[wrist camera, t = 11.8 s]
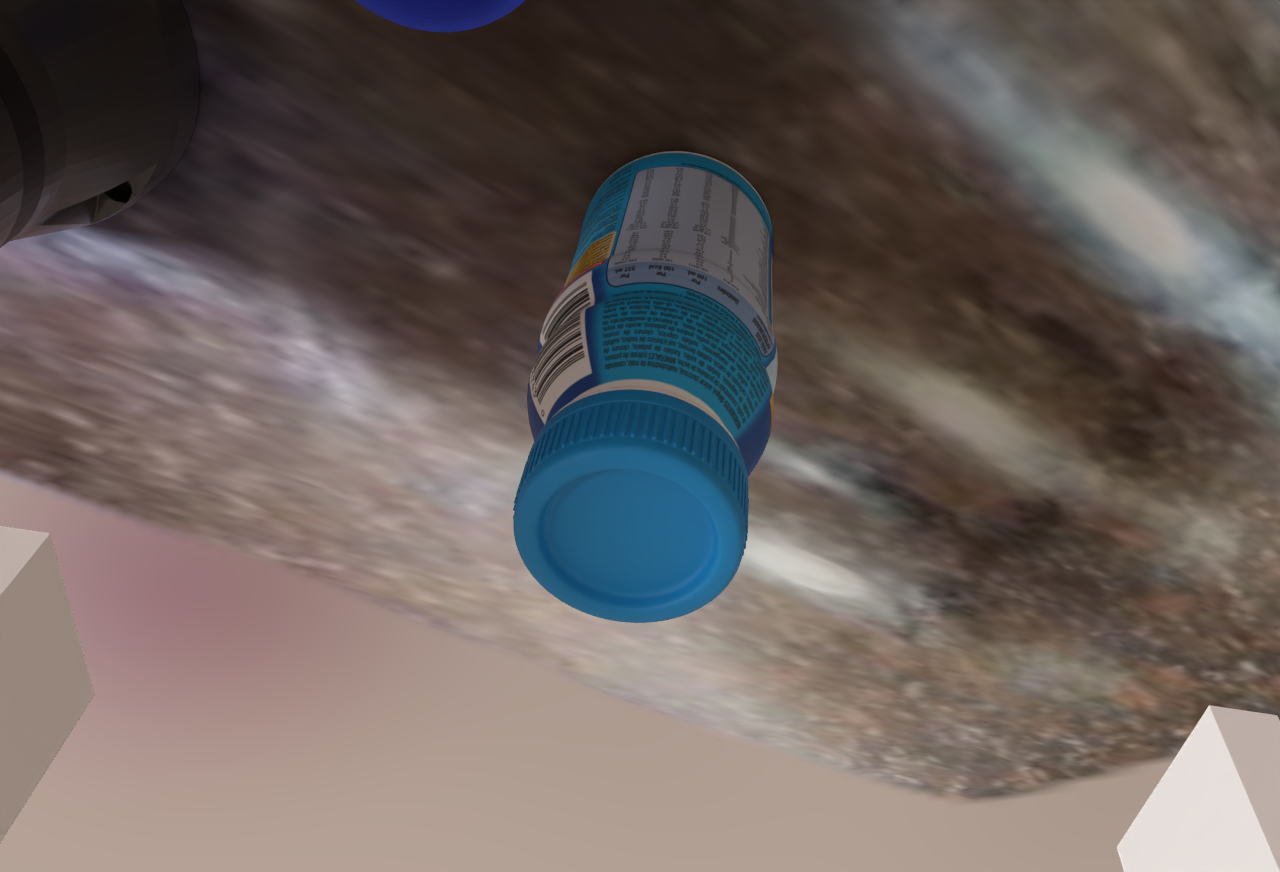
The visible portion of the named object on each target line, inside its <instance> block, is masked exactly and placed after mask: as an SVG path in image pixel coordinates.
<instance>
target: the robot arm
mask: <svg viewBox="0 0 1280 872" xmlns="http://www.w3.org/2000/svg"><path fill="white" fill-rule="evenodd" d="M198 105H199V67H198V60H197V53H196V49H195V44H194V39H193V36H192V32H191V29H190V25H189V22H188V19H187V17H186V14H185V11H184V8H183V6H182V4H181V1H180V0H0V248H1V247H2V246H3V245H5V244H6V243H7V242H9V241H12V240H17V239H22V238H27V237H32V236H37V235H42V234H47V233H52V232H58V231H63V230H68V229H73V228H78V227H83V226H87V225H91V224H94V223H97V222H100V221H103V220H106V219H108V218H110V217H112V216H114V215H116V214H118V213H120V212H122V211H124V210H126V209H127V208H129V207H131V206H132V205H133V204H135V203H136V202H137V201H139V200H140V199H141V198H142V197H143V196H145V195H146V194H147V193H148V192H149V191H151V190H152V189H153V188H154V187H155V186H156V185H158V184H159V183H160V182H161V181H162V180H163V179H164V178H165V177H166V176H167V175H168V174H169V173H170V172H171V171H172V170H173V168H174V167H175V166H176V164H177V163H178V162H179V160H180V158H181V157H182V155H183V153H184V152H185V150H186V148H187V145H188V143H189V141H190V138H191V136H192V133H193V130H194V126H195V122H196V118H197V112H198ZM94 695H95V694H94V690H93V686H92V683H91V679H90V676H89V672H88V668H87V664H86V661H85V657H84V654H83V650H82V646H81V643H80V639H79V635H78V632H77V628H76V625H75V621H74V617H73V614H72V610H71V607H70V603H69V599H68V596H67V592H66V588H65V585H64V581H63V578H62V574H61V570H60V567H59V564H58V559H57V556H56V552H55V548H54V545H53V541H52V538H51V534H50V533H45V532H38V531H31V530H24V529H18V528H11V527H4V526H0V843H1V841H2V840H3V838H4V836H5V835H6V833H7V832H8V830H9V828H10V827H11V825H12V824H13V822H14V821H15V819H16V817H17V816H18V814H19V813H20V811H21V810H22V808H23V807H24V805H25V803H26V802H27V800H28V799H29V797H30V796H31V794H32V792H33V791H34V789H35V788H36V786H37V785H38V783H39V782H40V780H41V778H42V777H43V775H44V774H45V772H46V771H47V769H48V767H49V766H50V764H51V763H52V761H53V760H54V758H55V757H56V755H57V753H58V752H59V750H60V749H61V747H62V745H63V744H64V742H65V741H66V739H67V738H68V736H69V735H70V733H71V731H72V730H73V728H74V727H75V725H76V723H77V722H78V720H79V719H80V717H81V716H82V714H83V712H84V711H85V709H86V708H87V706H88V705H89V703H90V702H91V700H92V699H93V697H94ZM1117 849H1118V853H1119V856H1120V860H1121V863H1122V866H1123V870H1124V872H1280V720H1279V718H1278V716H1277V715H1271V714H1264V713H1257V712H1251V711H1244V710H1237V709H1230V708H1224V707H1217V706H1210V705H1209V706H1208V708H1207V709H1206V711H1205V713H1204V714H1203V716H1202V717H1201V719H1200V720H1199V722H1198V723H1197V725H1196V726H1195V728H1194V729H1193V731H1192V732H1191V734H1190V736H1189V737H1188V739H1187V740H1186V742H1185V743H1184V745H1183V746H1182V748H1181V749H1180V751H1179V752H1178V754H1177V756H1176V757H1175V759H1174V760H1173V762H1172V763H1171V765H1170V766H1169V768H1168V770H1167V771H1166V772H1165V774H1164V775H1163V777H1162V779H1161V780H1160V782H1159V783H1158V785H1157V786H1156V788H1155V789H1154V791H1153V792H1152V794H1151V796H1150V797H1149V799H1148V800H1147V802H1146V803H1145V805H1144V806H1143V808H1142V810H1141V811H1140V812H1139V814H1138V815H1137V817H1136V819H1135V820H1134V822H1133V823H1132V825H1131V826H1130V828H1129V829H1128V831H1127V833H1126V834H1125V836H1124V837H1123V838H1122V840H1121V842H1120V843H1119V845H1118V846H1117Z"/></svg>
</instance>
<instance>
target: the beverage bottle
mask: <svg viewBox="0 0 1280 872" xmlns="http://www.w3.org/2000/svg"><path fill="white" fill-rule="evenodd" d="M773 253H774V238H773V229H772V224H771V220H770V217H769V214H768V211H767V209H766V206H765V204H764V202H763V201H762V199H761V197H760V196H759V194H758V193H757V191H756V190H755V189H754V187H753V186H752V185H751V184H750V183H749V182H748V181H747V180H746V179H745V178H744V177H743V176H742V175H741V174H740V173H738V172H737V171H736V170H734V169H733V168H731V167H730V166H728V165H727V164H725V163H723V162H721V161H719V160H717V159H714V158H712V157H709V156H706V155H702V154H698V153H693V152H685V151H666V152H659V153H654V154H650V155H646V156H643V157H640V158H638V159H636V160H633V161H631V162H629V163H628V164H626V165H624V166H623V167H621V168H620V169H618V170H617V171H615V172H614V173H613V174H612V175H611V176H610V177H609V178H608V179H607V180H606V181H605V182H604V183H603V184H602V185H601V186H600V188H599V189H598V190H597V192H596V193H595V195H594V197H593V199H592V200H591V202H590V205H589V207H588V209H587V212H586V215H585V218H584V221H583V225H582V229H581V235H580V239H579V243H578V247H577V250H576V253H575V256H574V259H573V262H572V265H571V268H570V271H569V274H568V276H567V279H566V282H565V285H564V288H563V290H562V291H561V292H560V293H559V295H558V296H557V297H556V299H555V300H554V302H553V304H552V305H551V307H550V309H549V311H548V314H547V316H546V318H545V321H544V324H543V327H542V331H541V335H540V339H539V345H538V354H537V358H536V360H535V362H534V365H533V367H532V371H531V374H530V379H529V384H528V395H527V403H528V415H529V421H530V427H531V431H532V435H533V438H534V444H533V446H532V448H531V451H530V454H529V456H528V460H527V462H526V465H525V468H524V471H523V474H522V478H521V481H520V484H519V487H518V491H517V494H516V498H515V502H514V503H515V505H514V509H513V510H514V511H515V512H514V516H513V519H514V536H515V541H516V545H517V548H518V551H519V553H520V556H521V558H522V560H523V562H524V564H525V565H526V567H527V568H528V570H529V571H530V573H531V574H532V575H533V577H534V578H535V579H536V580H537V581H538V582H539V583H540V584H541V585H542V586H543V587H544V588H545V589H546V590H547V591H548V592H550V593H551V594H552V595H554V596H555V597H556V598H558V599H559V600H561V601H562V602H564V603H566V604H568V605H569V606H571V607H573V608H575V609H578V610H580V611H582V612H585V613H587V614H590V615H593V616H596V617H600V618H604V619H608V620H614V621H620V622H632V623H646V622H657V621H664V620H669V619H673V618H676V617H680V616H683V615H686V614H688V613H691V612H693V611H695V610H697V609H699V608H701V607H703V606H704V605H706V604H707V603H709V602H710V601H712V600H713V599H714V598H715V597H717V596H718V595H719V594H720V593H721V592H722V591H723V590H724V589H725V588H726V587H727V585H728V584H729V583H730V581H731V580H732V578H733V577H734V575H735V573H736V571H737V569H738V567H739V565H740V562H741V559H742V556H743V555H744V549H745V548H746V541H747V533H748V503H749V499H748V476H749V475H750V473H751V472H752V471H753V469H754V468H755V466H756V464H757V463H758V461H759V459H760V457H761V455H762V453H763V451H764V449H765V447H766V444H767V442H768V439H769V436H770V432H771V428H772V423H773V415H774V399H773V394H774V390H775V385H776V378H777V367H778V356H777V346H776V340H775V336H774V332H773V323H772V263H773Z"/></svg>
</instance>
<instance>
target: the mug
mask: <svg viewBox="0 0 1280 872" xmlns="http://www.w3.org/2000/svg"><path fill="white" fill-rule="evenodd" d="M355 1H356V2H358V3H359V4H361V5H362V6H364V7H365V8H367V9H368V10H370V11H371V12H373V13H375V14H377V15H379V16H380V17H382V18H384V19H387V20H389V21H391V22H394V23H396V24H399V25H402V26H405V27H409V28H413V29H417V30H422V31H430V32H458V31H465V30H470V29H475V28H478V27H481V26H484V25H487V24H489V23H492V22H494V21H496V20H498V19H500V18H502V17H504V16H505V15H507V14H509V13H510V12H512V11H513V10H514V9H516V8H517V7H518V6H519V5H521V4H522V3H523V2H524V1H525V0H355Z"/></svg>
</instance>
